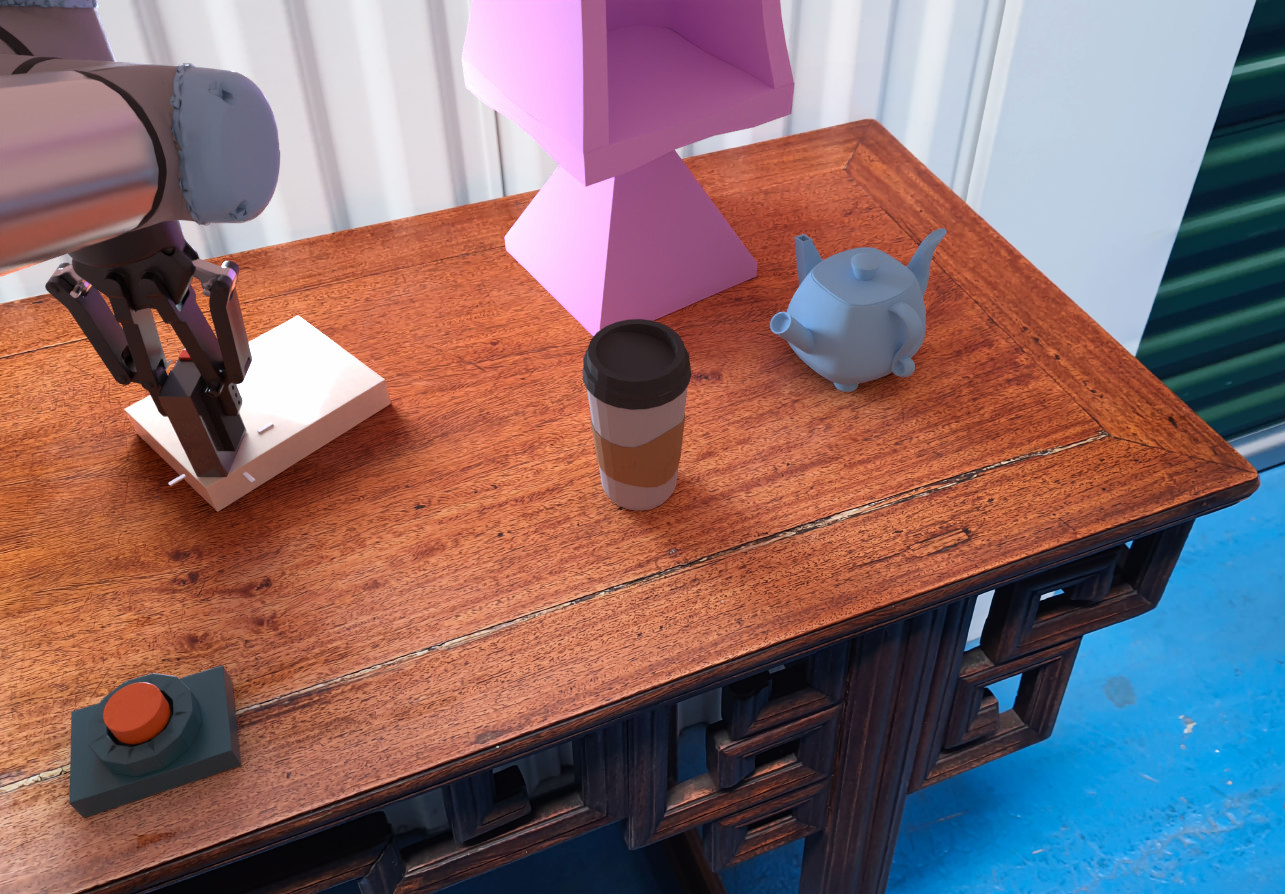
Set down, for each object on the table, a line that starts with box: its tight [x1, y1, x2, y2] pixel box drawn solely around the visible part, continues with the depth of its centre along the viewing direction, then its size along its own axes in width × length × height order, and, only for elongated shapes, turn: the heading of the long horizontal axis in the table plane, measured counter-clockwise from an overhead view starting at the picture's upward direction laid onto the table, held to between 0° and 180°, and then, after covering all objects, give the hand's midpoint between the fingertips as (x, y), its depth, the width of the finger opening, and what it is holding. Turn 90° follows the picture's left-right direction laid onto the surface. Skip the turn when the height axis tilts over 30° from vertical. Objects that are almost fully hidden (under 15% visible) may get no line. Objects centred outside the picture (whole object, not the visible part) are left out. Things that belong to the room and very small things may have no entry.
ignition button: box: [103, 682, 171, 745], centre depth 65 cm, size 4×4×2 cm
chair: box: [461, 0, 795, 337], centre depth 91 cm, size 22×22×45 cm
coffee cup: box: [582, 319, 693, 512], centre depth 79 cm, size 8×8×15 cm
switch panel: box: [123, 315, 392, 513], centre depth 89 cm, size 20×16×3 cm
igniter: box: [68, 664, 242, 819], centre depth 67 cm, size 10×7×4 cm
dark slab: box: [158, 348, 247, 477], centre depth 80 cm, size 6×2×9 cm, turn 179°
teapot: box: [769, 227, 947, 393], centre depth 92 cm, size 15×14×11 cm
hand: (216, 439), depth 82 cm, fingers closed on dark slab, 2 cm apart
